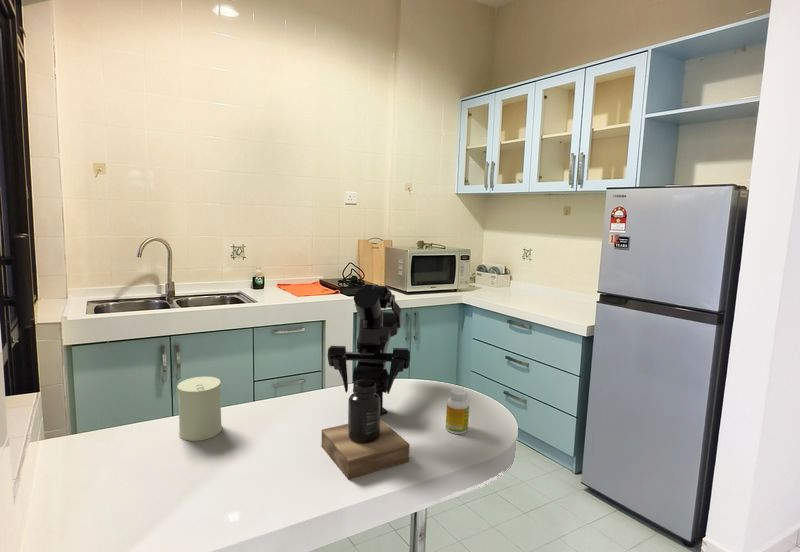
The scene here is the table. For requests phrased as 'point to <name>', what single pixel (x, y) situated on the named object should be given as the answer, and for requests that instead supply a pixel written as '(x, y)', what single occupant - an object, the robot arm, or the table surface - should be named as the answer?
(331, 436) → the block
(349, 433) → the supplement bottle
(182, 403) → the can
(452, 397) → the supplement bottle
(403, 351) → the robot arm
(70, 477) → the table surface
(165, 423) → the table surface
